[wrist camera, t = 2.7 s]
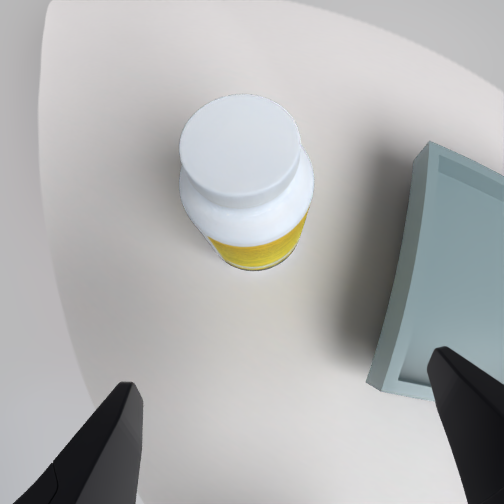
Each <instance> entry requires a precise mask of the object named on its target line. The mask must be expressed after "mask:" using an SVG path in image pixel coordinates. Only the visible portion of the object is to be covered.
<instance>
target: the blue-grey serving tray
mask: <svg viewBox="0 0 504 504" xmlns="http://www.w3.org/2000/svg"><path fill="white" fill-rule="evenodd" d="M442 346H447V347H449V348H451V349H452V350H454V351H455V352H457V353H458V354H460V355H461V356H463V357H464V358H465V359H467V360H468V361H470V362H471V363H473V364H474V365H476V366H477V367H479V368H480V369H482V370H483V371H485V372H486V373H488V374H489V375H491V376H492V377H493V378H495V379H496V380H498V381H499V382H501V383H502V384H504V176H502V175H500V174H498V173H497V172H495V171H493V170H491V169H489V168H487V167H485V166H483V165H481V164H479V163H477V162H475V161H473V160H471V159H469V158H467V157H465V156H462V155H460V154H458V153H456V152H454V151H452V150H449V149H447V148H445V147H443V146H440V145H438V144H436V143H433V142H431V141H429V142H428V143H427V145H426V146H425V147H424V148H423V150H422V151H421V152H420V153H419V155H418V156H417V157H416V158H415V160H414V162H413V172H412V180H411V188H410V196H409V203H408V210H407V216H406V222H405V228H404V234H403V240H402V245H401V250H400V255H399V260H398V265H397V270H396V274H395V279H394V283H393V288H392V292H391V296H390V300H389V304H388V308H387V312H386V316H385V320H384V323H383V327H382V331H381V334H380V338H379V341H378V345H377V348H376V351H375V355H374V358H373V361H372V364H371V368H370V371H369V374H368V377H367V380H366V383H368V384H369V385H371V386H373V387H374V388H376V389H378V390H379V391H382V392H386V393H391V394H396V395H401V396H406V397H412V398H417V399H423V400H429V401H435V399H434V395H433V391H432V388H431V384H430V381H429V377H428V374H427V365H428V362H429V360H430V358H431V355H432V353H433V351H434V349H435V348H438V347H442Z"/></svg>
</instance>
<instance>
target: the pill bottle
mask: <svg viewBox="0 0 504 504" xmlns="http://www.w3.org/2000/svg"><path fill="white" fill-rule="evenodd" d="M179 155H180V160H181V163H182V168H181V172H180V178H179V191H180V197H181V201H182V204H183V207H184V209H185V211H186V213H187V215H188V216H189V218H190V219H191V220H192V222H193V223H194V224H195V226H196V227H197V228H198V229H199V231H200V232H201V233H202V234H203V236H204V237H205V238H206V239H207V241H208V242H209V243H210V245H211V246H212V248H213V249H214V250H215V252H216V253H217V254H218V255H219V256H220V257H221V258H222V259H223V260H224V261H225V262H226V263H228V264H230V265H231V266H233V267H236V268H238V269H242V270H246V271H262V270H266V269H269V268H272V267H274V266H276V265H278V264H280V263H281V262H283V261H284V260H285V259H286V258H287V257H288V256H289V255H290V254H291V253H292V252H293V250H294V249H295V247H296V245H297V243H298V241H299V238H300V235H301V232H302V229H303V226H304V223H305V220H306V216H307V213H308V210H309V207H310V203H311V200H312V196H313V192H314V172H313V167H312V164H311V161H310V158H309V156H308V154H307V152H306V151H305V149H304V148H303V146H302V145H301V138H300V133H299V130H298V126H297V124H296V122H295V121H294V119H293V118H292V116H291V115H290V114H289V112H288V111H286V110H285V109H284V108H283V107H282V106H281V105H279V104H278V103H276V102H274V101H272V100H270V99H267V98H264V97H261V96H257V95H251V94H235V95H229V96H225V97H221V98H218V99H215V100H213V101H211V102H209V103H207V104H206V105H204V106H203V107H201V108H200V109H199V110H198V111H197V112H195V113H194V115H193V116H192V117H191V118H190V119H189V120H188V122H187V123H186V125H185V127H184V129H183V131H182V134H181V137H180V142H179Z"/></svg>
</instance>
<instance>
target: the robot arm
mask: <svg viewBox="0 0 504 504" xmlns="http://www.w3.org/2000/svg"><path fill="white" fill-rule="evenodd" d="M427 374H428V377H429V381H430V384H431V388H432V391H433V395H434V399H435V403H436V406H437V410H438V413H439V416H440V419H441V421H442V424H443V427H444V430H445V432H446V435H447V438H448V441H449V444H450V447H451V450H452V453H453V456H454V459H455V462H456V465H457V468H458V471H459V474H460V478H461V481H462V484H463V488H464V491H465V495H466V498H467V502H468V504H504V384H502V383H501V382H499V381H498V380H496V379H495V378H493V377H492V376H491V375H489V374H488V373H486V372H485V371H483V370H482V369H480V368H479V367H477V366H476V365H474V364H473V363H471V362H470V361H468V360H467V359H465V358H464V357H463V356H461V355H460V354H458V353H457V352H455V351H454V350H452V349H451V348H449V347H447V346H442V347H438V348H435V349H434V351H433V353H432V355H431V358H430V360H429V362H428V365H427ZM142 427H143V400H142V397H141V395H140V393H139V391H138V389H137V387H136V385H135V384H134V383H133V382H120V383H119V384H118V385H117V386H116V387H115V388H114V389H113V391H112V392H111V393H110V394H109V395H108V397H107V398H106V399H105V400H104V401H103V402H102V404H101V405H100V406H99V407H98V408H97V410H96V411H95V412H94V413H93V414H92V416H91V417H90V418H89V419H88V420H87V421H86V423H85V424H84V425H83V426H82V427H81V429H80V430H79V431H78V432H77V433H76V434H75V436H74V437H73V438H72V439H71V440H70V442H69V443H68V444H67V445H66V446H65V448H64V449H63V450H62V451H61V452H60V454H59V455H58V456H57V457H56V458H55V460H54V461H53V463H51V464H50V465H49V467H48V468H47V469H46V471H45V472H44V473H43V474H42V475H41V476H40V477H39V478H38V480H37V481H36V482H35V483H34V484H33V485H32V486H31V487H30V488H29V489H28V490H27V491H26V492H25V493H24V494H23V495H22V496H21V497H20V498H18V499H17V500H16V501H15V502H14V503H13V504H135V502H136V493H137V484H138V476H139V468H140V461H141V452H142Z"/></svg>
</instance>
